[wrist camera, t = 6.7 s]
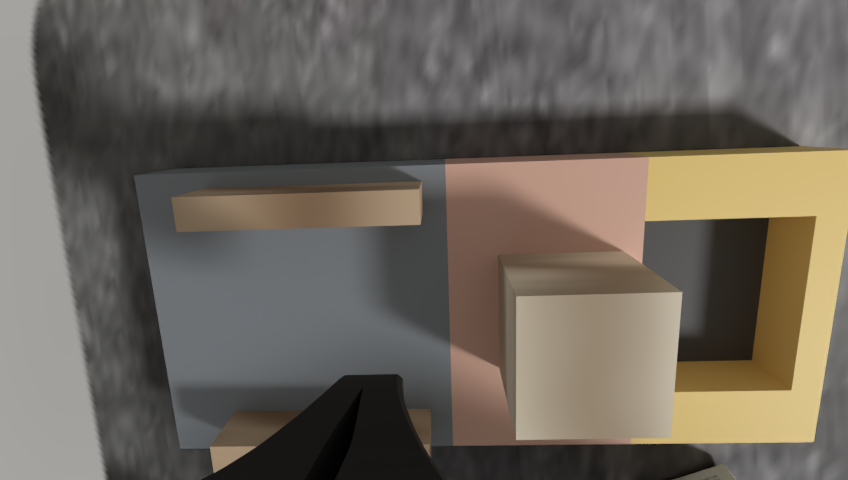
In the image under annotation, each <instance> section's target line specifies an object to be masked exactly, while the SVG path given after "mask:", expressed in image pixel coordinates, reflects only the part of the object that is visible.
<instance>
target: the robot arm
mask: <svg viewBox="0 0 848 480" xmlns="http://www.w3.org/2000/svg"><path fill="white" fill-rule="evenodd" d="M202 480H446V479H445V478H444V476H443V475H442V474H441V472H440V471H439V470H438V468H437V467H436V465H435V464H434V462H433V461H432V459H431V458H430V456H429V454H428V453H427V451H426V449H425V448H424V446H423V444H422V442H421V440H420V438H419V436H418V434H417V432H416V430H415V428H414V426H413V423H412V421H411V418H410V416H409V413H408V411H407V408H406V405H405V401H404V389H403V378H402V377H400V376H399V375H398V374H374V375H344V376H343V377H341V378H340V379H339V380H338V381H337V382H335V383H334V384H333V385H332V386H331V387H330V388H329V389H328V390H327V391H325V392H324V393H323V394H322V395H321V396H320V397H319V398H318V399H316V400H315V401H314V402H313V403H312V404H311V405H309V406H308V407H307V408H306V409H305V410H304V411H302V412H301V413H300V414H299V415H298V416H297V417H295V418H294V419H293V420H291V421H290V422H289V423H287V424H286V425H285V426H284V427H282V428H281V429H280V430H278V431H277V432H276V433H274V434H273V435H272V436H271V437H269V438H268V439H267V440H265V441H264V442H263V443H261V444H260V445H258V446H257V447H255V448H254V449H252V450H251V451H249V452H248V453H246V454H245V455H243V456H242V457H240V458H238V459H237V460H235V461H233V462H232V463H230V464H229V465H227V466H225V467H224V468H222V469H220V470H219V471H217V472H215V473H213V474H211V475H209V476H207V477H205V478H204V479H202Z"/></svg>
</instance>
